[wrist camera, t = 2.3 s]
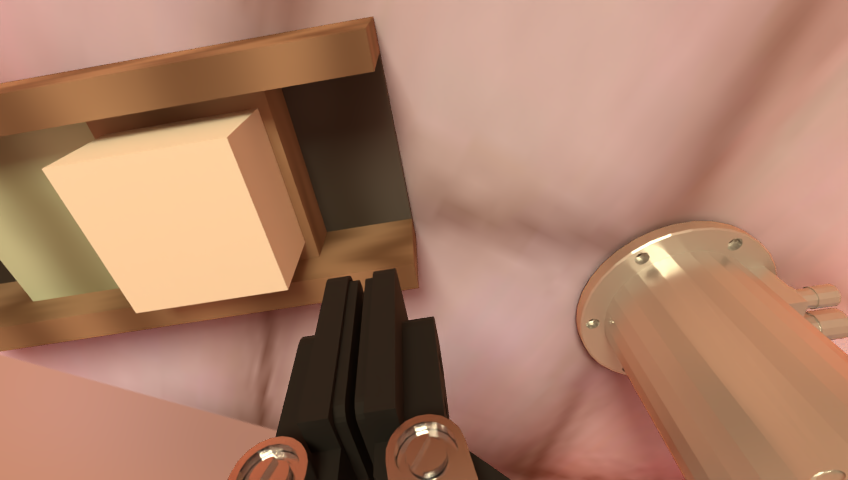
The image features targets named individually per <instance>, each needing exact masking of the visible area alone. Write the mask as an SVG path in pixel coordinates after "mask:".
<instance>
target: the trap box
mask: <svg viewBox="0 0 848 480" xmlns="http://www.w3.org/2000/svg"><path fill="white" fill-rule="evenodd" d="M255 108H258V110H259V113H260V116H261V119H262V122H263V124H264V127H265V130H266V133H267V136H268V139H269V141H270V144H271V147H272V150H273V153H274V156H275V159H276V161H277V164H278V167H279V170H280V173H281V176H282V178H283V181H284V184H285V187H286V190H287V193H288V196H289V198H290V201H291V204H292V207H293V210H294V213H295V215H296V218H297V221H298V224H299V227H300V230H301V232H302V235H303V238H304V241H305V244H304V247H303V249H302V252H301V255H300V258H299V261H298V264H297V266H296V269H295V272H294V275H293V278H292V280H291V283H290V286H289V289H288V290H285V291H278V292H272V293H265V294H259V295H252V296H245V297H239V298H232V299H226V300H219V301H213V302H206V303H200V304H193V305H187V306H180V307H174V308H167V309H161V310H154V311H148V312H141V313H136V312H135V311H134V309H133V308H132V306H131V305H130V303H129V302H128V300H127V299H126V297H125V296H124V294H123V293H122V291H121V290H120V288H119V287H118V285H117V283H116V282H115V280H114V279H113V277H112V276H111V274H110V273H109V271H108V270H107V268H106V267H105V265H104V264H103V262H102V261H101V259H100V257H99V256H98V254H97V253H96V251H95V250H94V248H93V247H92V245H91V244H90V242H89V241H88V239H87V238H86V236H85V235H84V233H83V232H82V230H81V228H80V227H79V225H78V224H77V222H76V221H75V219H74V218H73V216H72V215H71V213H70V212H69V210H68V209H67V207H66V206H65V204H64V202H63V201H62V199H61V198H60V196H59V195H58V193H57V192H56V190H55V189H54V187H53V186H52V184H51V183H50V181H49V180H48V178H47V176H46V175H45V173H44V172H43V170H42V168H44V167H46V166H48V165H50V164H52V163H53V162H55V161H57V160H59V159H61V158H62V157H64V156H66V155H68V154H70V153H72V152H73V151H75V150H77V149H79V148H81V147H83V146H84V145H86V144H88V143H90V142H92V141H93V140H95V139H97V138H99V137H101V136H103V135H104V134H110V133H116V132H122V131H128V130H133V129H139V128H145V127H151V126H157V125H162V124H168V123H174V122H180V121H186V120H191V119H197V118H203V117H209V116H215V115H220V114H226V113H232V112H238V111H244V110H249V109H255ZM393 268H396V271H397V274H398V278H399V282H400V287H401V291H402V290H409V289H415V288H419V285H418V267H417V248H416V235H415V230H414V225H413V220H412V214H411V209H410V204H409V199H408V194H407V189H406V184H405V178H404V173H403V168H402V163H401V158H400V153H399V148H398V142H397V137H396V132H395V127H394V122H393V117H392V111H391V106H390V101H389V96H388V91H387V86H386V81H385V75H384V70H383V65H382V60H381V55H380V50H379V45H378V39H377V34H376V29H375V24H374V19H373V17H368V18H362V19H357V20H351V21H346V22H340V23H334V24H329V25H323V26H318V27H312V28H307V29H301V30H295V31H290V32H284V33H279V34H273V35H268V36H262V37H257V38H251V39H245V40H240V41H234V42H229V43H223V44H218V45H212V46H206V47H201V48H195V49H190V50H184V51H179V52H173V53H168V54H162V55H156V56H151V57H145V58H140V59H134V60H129V61H123V62H117V63H112V64H106V65H101V66H95V67H90V68H84V69H79V70H73V71H67V72H62V73H56V74H51V75H45V76H40V77H34V78H28V79H23V80H17V81H12V82H6V83H1V84H0V351H6V350H13V349H20V348H26V347H33V346H39V345H46V344H53V343H59V342H66V341H72V340H79V339H86V338H92V337H99V336H105V335H112V334H119V333H125V332H132V331H138V330H145V329H151V328H158V327H165V326H171V325H178V324H184V323H191V322H198V321H204V320H211V319H217V318H224V317H231V316H237V315H244V314H250V313H257V312H264V311H270V310H277V309H283V308H290V307H297V306H303V305H310V304H316V303H322V300H323V295H324V291H325V286H326V282H327V280H328V279H331V278H337V277H343V276H351V277H352V279H353V281H355V280H360V282H361V284H362V287H363V291H364V288H365V279H368V278H372V277H373V272H374V271H380V270H387V269H393Z"/></svg>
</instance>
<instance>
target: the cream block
mask: <svg viewBox="0 0 848 480" xmlns="http://www.w3.org/2000/svg"><path fill="white" fill-rule="evenodd" d="M42 170H43V172H44V173H45V175H46V176H47V178H48V180H49V181H50V183H51V184H52V186H53V187H54V189H55V190H56V192H57V193H58V195H59V196H60V198H61V199H62V201H63V202H64V204H65V206H66V207H67V209H68V210H69V212H70V213H71V215H72V216H73V218H74V219H75V221H76V222H77V224H78V225H79V227H80V228H81V230H82V232H83V233H84V235H85V236H86V238H87V239H88V241H89V242H90V244H91V245H92V247H93V248H94V250H95V251H96V253H97V254H98V256H99V257H100V259H101V261H102V262H103V264H104V265H105V267H106V268H107V270H108V271H109V273H110V274H111V276H112V277H113V279H114V280H115V282H116V283H117V285H118V287H119V288H120V290H121V291H122V293H123V294H124V296H125V297H126V299H127V300H128V302H129V303H130V305H131V306H132V308H133V309H134V311H135V312H136V313H141V312H148V311H154V310H161V309H167V308H174V307H180V306H187V305H193V304H200V303H206V302H213V301H219V300H226V299H232V298H239V297H245V296H252V295H259V294H265V293H272V292H278V291H285V290H288V289H289V286H290V283H291V280H292V278H293V275H294V272H295V269H296V266H297V264H298V261H299V258H300V255H301V252H302V249H303V247H304V244H305V241H304V238H303V235H302V232H301V230H300V227H299V224H298V221H297V218H296V215H295V213H294V210H293V207H292V204H291V201H290V198H289V196H288V193H287V190H286V187H285V184H284V181H283V178H282V176H281V173H280V170H279V167H278V164H277V161H276V159H275V156H274V153H273V150H272V147H271V144H270V141H269V139H268V136H267V133H266V130H265V127H264V124H263V122H262V119H261V116H260V113H259V110H258V108H255V109H249V110H244V111H238V112H232V113H226V114H220V115H215V116H209V117H203V118H197V119H191V120H186V121H180V122H174V123H168V124H162V125H157V126H151V127H145V128H139V129H133V130H128V131H122V132H116V133H110V134H104V135H103V136H101V137H99V138H97V139H95V140H93V141H92V142H90V143H88V144H86V145H84V146H83V147H81V148H79V149H77V150H75V151H73V152H72V153H70V154H68V155H66V156H64V157H62V158H61V159H59V160H57V161H55V162H53V163H52V164H50V165H48V166H46V167H44V168H42Z"/></svg>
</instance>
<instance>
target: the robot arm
mask: <svg viewBox="0 0 848 480" xmlns="http://www.w3.org/2000/svg"><path fill="white" fill-rule="evenodd" d="M840 302H841V295H840V292H839V290H838V289H837V288H836V287H835V286H834V285H831V284H823V285H816V286H809V287H804V288H803V289H796V290H795V289H794V288H793V287H790V286H788V285H787V284H786V283H784V282H783V281H782V280H781V279H779V278H778V277H777V272H776V265H775V263H774V261H773V258H772V256H771V254H770V252H769V251H768V250H767V249H766V248H765V247H764V246H763V245H762V244H761V242H759V241H758V240H756V239H755V238H754V237H752V236H751V235H750V234H748V233H747V232H746V231H744V230H741V229H739V228H737V227H735V226H732V225H729V224H724V223H719V222H715V221H691V222H685V223H679V224H673V225H670V226H667V227H663V228H660V229H657V230H654V231H652V232H649V233H647V234H645V235H643V236H641V237H639V238H637V239H634V240H633V241H631V242H630V243H628V244H627V245H625V246H624V247H622V248H621V249H619V250H618V251H616V252H615V253H614V254H613V255H612V256H611V257H609V258H608V259H607V260H606V261H605V262H604V263H603V264H602V265H601V266H600V267H599V268H598V269H597V271H596V272H595V273H594V274H593V275H592V277H591V278H590V280H589V281H588V283H587V285H586V286H585V288H584V290H583V292H582V294H581V297H580V300H579V303H578V306H577V316H576V322H577V328H578V333H579V335H580V337H581V340H582V342H583V344H584V346H585V348H586V349H587V351H588V352H589V354H590V355H591V357H592V358H594V359H595V360H596V361H597V362H598V363H599V364H600V365H602V366H604V367H606V368H608V369H609V370H611V371H614V372H617V373H620V374H623V375H627V376H628V378H629V380H630V381H631V383H632V385H633V387H634V389H635V390H636V392H637V394H638V396H639V397H640V399H641V401H642V403H643V405H644V406H645V408H646V410H647V412H648V414H649V415H650V417H651V419H652V421H653V423H654V424H655V426H656V428H657V430H658V431H659V433H660V435H661V437H662V439H663V440H664V442H665V444H666V446H667V448H668V449H669V451H670V453H671V455H672V457H673V458H674V460H675V462H676V464H677V466H678V467H679V469H680V471H681V473H682V474H683V476H684V478H685V480H848V355H847V354H846V353H845V352H844V351H843V350H841V349H840V348H839V347H838V346H837V345H836V344H834V343H833V342H832V341H831V340H835V339H842V338H846V337H848V317H847V316H846V315H845V314H844V312H843V311H841V310H839V309H837V308H828V309H821V310H814V311H807V312H806V310H807V309H809V308H810V309H817V308H824V307H831V306H837V305H838V304H839V303H840ZM228 480H510V479H509V478H507V477H506V476H504V475H503V474H502V473H500V472H499V471H497V470H496V469H494V468H493V467H491V466H490V465H489V464H487V463H486V462H484V461H483V460H481V459H480V458H478V457H477V456H476V455H474V454H473V453H471V452H470V451H469V449H468V446H467V443H466V440H465V438H464V436H463V434H462V432H461V430H460V428H459V427H458V426H457V425H456V424H455V423H454V422H452V421H451V420H449V412H448V404H447V396H446V388H445V380H444V372H443V365H442V358H441V351H440V345H439V340H438V334H437V329H436V324H435V319H434V316H433V317H427V318H420V319H414V320H408V317H407V312H406V308H405V304H404V300H403V295H402V291H401V287H400V282H399V278H398V274H397V271H396V268H393V269H387V270H380V271H374V272H373V277H372V278H368V279H365V288H364V291H363V287H362V284H361V282H360V280H355V281H353V279H352V277H351V276H343V277H337V278H331V279H328V280H327V282H326V286H325V291H324V295H323V300H322V305H321V309H320V314H319V319H318V324H317V328H316V333H315V335H313V336H307V337H303V338H302V339H301V340H300V342H299V345H298V349H297V353H296V357H295V361H294V365H293V369H292V373H291V377H290V381H289V385H288V389H287V393H286V397H285V401H284V405H283V409H282V413H281V417H280V421H279V425H278V429H277V433H276V437H274V438H269V439H267V440H265V441H262V442H260V443H258V444H257V445H255V446H254V447H252V448H251V449H250V450H248V451H247V452H246V453H245V454H244V455H243V456H242V457H241V458H240V460H239V461H238V462H237V463H236V465H235V467H234V469H233V470H232V472H231V473H230V475H229V478H228Z"/></svg>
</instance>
